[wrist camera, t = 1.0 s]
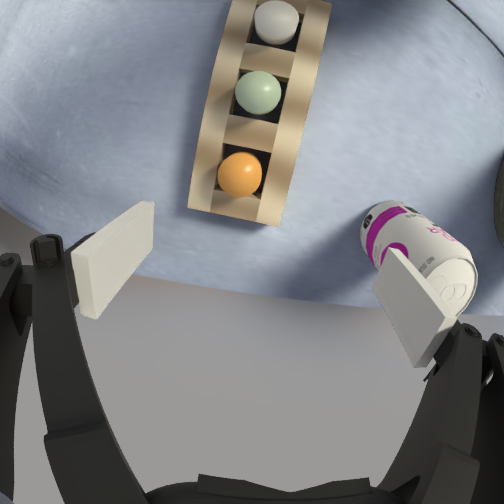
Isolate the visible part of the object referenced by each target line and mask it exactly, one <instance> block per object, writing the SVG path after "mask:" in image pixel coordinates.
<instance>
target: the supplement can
mask: <svg viewBox="0 0 504 504" xmlns="http://www.w3.org/2000/svg"><path fill="white" fill-rule="evenodd" d="M360 241H361V245H362V249H363V250H364V251H365V253H366V254H367V256H368V257H369V258H370V260H371V261H372V263H373V264H374V266H375V267H376V269H377V270H378V272H379V270H380V268H381V265H382V263H383V260H384V257H385V255H386V252H387V249H388V247H390V248H394V249H399V250H400V251H401V252H402V253H403V254H404V256H405V257H406V258H407V259H408V260H409V261H410V262H411V263H412V264H413V265H414V267H415V268H416V269H417V270H418V271H419V272H420V273H421V275H422V276H423V277H424V278H425V279H426V280H427V281H428V283H429V284H430V285H431V286H432V287H433V289H434V290H435V291H436V292H437V293H438V295H439V296H440V297H441V298H442V299H443V301H444V302H445V303H446V304H447V306H448V307H449V308H450V310H451V311H452V312H453V313H454V315H455V316H456V317H458V316H459V315H460V314H461V313H462V312H463V311H464V310H465V309H466V308H467V306H468V304H469V303H470V301H471V299H472V298H473V296H474V293H475V290H476V287H477V280H478V273H477V270H476V267H475V264H474V262H473V259H472V256H471V253H470V251H469V250H468V249H467V248H466V247H465V246H463V245H462V244H461V243H460V242H459V241H457V240H456V239H455V238H453V237H452V236H451V235H449V234H448V233H447V232H445V231H444V230H442V229H441V228H440V227H438V226H437V225H436V224H434V223H433V222H431V221H430V220H428V219H427V218H426V217H424V216H423V215H421V214H420V213H418V212H417V211H415V210H414V209H412V208H411V207H409V206H408V205H406V204H405V203H403V202H400V201H395V200H390V201H384V202H381V203H380V204H378V205H376V206H375V207H373V208H372V209H371V210H370V211H369V213H368V214H367V215H366V216H365V218H364V220H363V223H362V225H361V228H360Z"/></svg>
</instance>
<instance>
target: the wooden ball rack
mask: <svg viewBox="0 0 504 504" xmlns="http://www.w3.org/2000/svg"><path fill="white" fill-rule="evenodd" d="M268 1H273V0H233V1H232V4H231V7H230V10H229V14H228V17H227V20H226V24H225V27H224V31H223V34H222V38H221V42H220V45H219V49H218V53H217V57H216V61H215V65H214V69H213V73H212V77H211V82H210V86H209V90H208V95H207V99H206V104H205V109H204V113H203V118H202V123H201V128H200V133H199V139H198V144H197V149H196V155H195V161H194V167H193V173H192V179H191V185H190V192H189V198H188V205H187V208H191V209H196V210H201V211H206V212H211V213H216V214H221V215H226V216H230V217H235V218H240V219H245V220H249V221H254V222H258V223H263V224H267V225H272V226H276V227H279V224H280V220H281V216H282V212H283V209H284V205H285V201H286V197H287V193H288V189H289V185H290V181H291V178H292V174H293V170H294V166H295V162H296V158H297V154H298V150H299V146H300V142H301V138H302V134H303V130H304V125H305V121H306V117H307V113H308V109H309V105H310V101H311V96H312V92H313V88H314V84H315V79H316V75H317V71H318V66H319V62H320V58H321V53H322V49H323V44H324V40H325V35H326V31H327V26H328V21H329V17H330V12H331V7H332V3H329V2H325V1H322V0H278V1H283V2H286V3H288V4H290V5H292V6H293V7H294V8H295V9H296V11H297V12H298V15H299V22H298V23H301V27H300V32H299V36H298V40H297V44H296V48H295V52H291V51H287V50H282V49H278V48H273V47H268V46H263V45H257V44H251V43H250V39H251V35H252V31H253V28H254V24H255V19H254V15H255V11H256V9H257V8H258V7H259V6H260V5H261V4H263V3H265V2H268ZM253 71H264V72H267V73H269V74H271V75H272V76H274V77H275V78H276V79H277V81H281V82H285V83H287V86H286V90H285V94H284V99H283V103H282V107H281V111H280V116H279V120H278V124H275V123H270V122H266V121H261V120H257V119H252V118H247V117H241V116H236V115H232V114H233V109H234V105H235V100H236V95H235V88H236V85H237V83H238V81H239V80H240V78H241V75H242V74H247V73H249V72H253ZM226 143H227V144H232V145H237V146H242V147H247V148H252V149H257V150H261V151H266V152H270V153H271V154H270V158H269V162H268V167H267V171H266V175H265V179H264V184H263V188H262V192H261V193H259V192H254V193H252V194H251V195H249V196H246V197H234V196H231V195H229V194H227V193H226V192H225V191H224V190H223V189H222V188H221V187H220V185H219V184H218V169H219V167H220V165H221V163H222V161H223V156H224V151H225V147H226Z"/></svg>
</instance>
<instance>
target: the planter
mask: <svg viewBox="0 0 504 504" xmlns="http://www.w3.org/2000/svg"><path fill="white" fill-rule="evenodd" d="M494 219H495V226H496V231H497V235H498V238H499V240H500V242H501V244H502V245H503V247H504V158H503V160H502V163H501V166H500V169H499V173H498V177H497V182H496V188H495V197H494Z"/></svg>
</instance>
